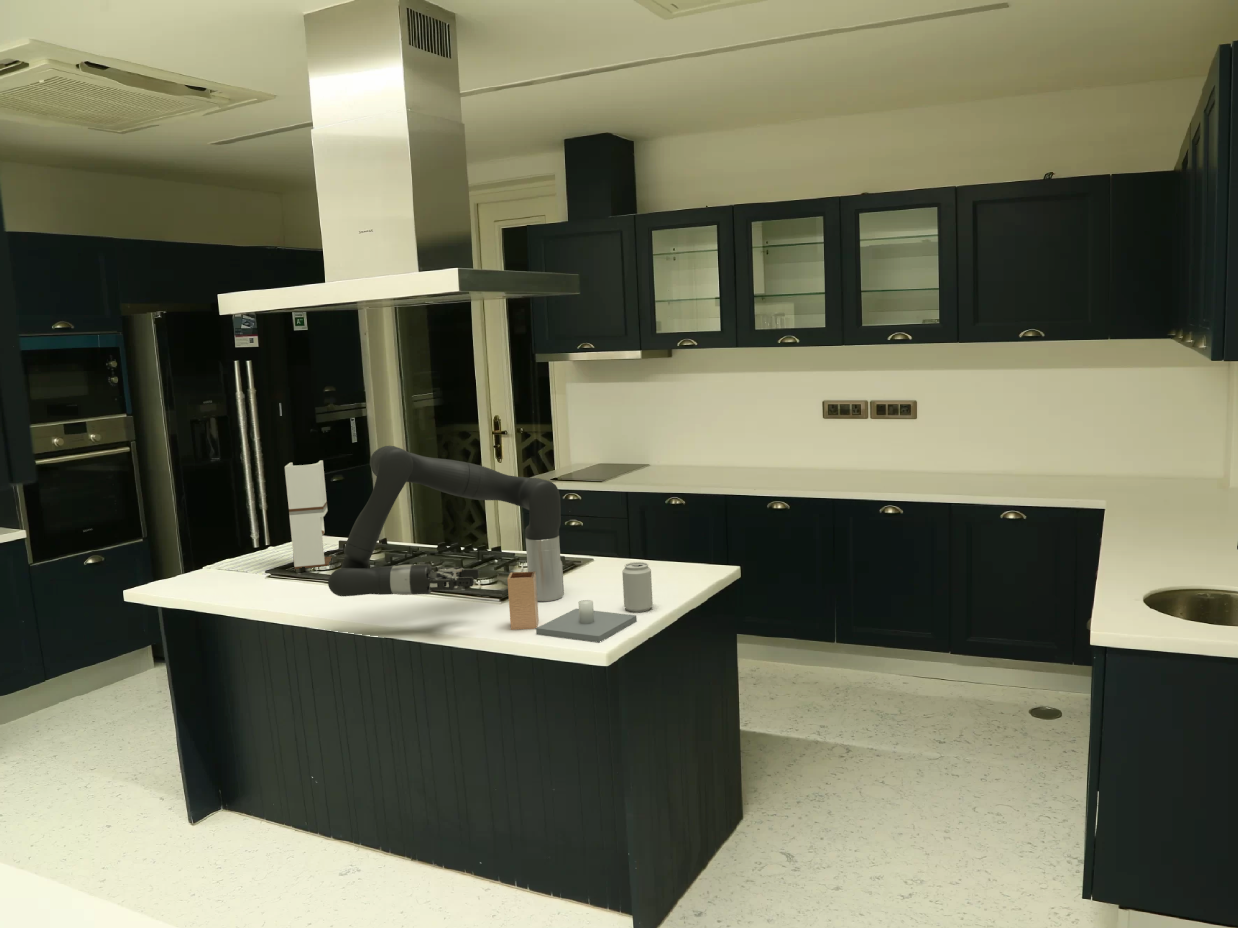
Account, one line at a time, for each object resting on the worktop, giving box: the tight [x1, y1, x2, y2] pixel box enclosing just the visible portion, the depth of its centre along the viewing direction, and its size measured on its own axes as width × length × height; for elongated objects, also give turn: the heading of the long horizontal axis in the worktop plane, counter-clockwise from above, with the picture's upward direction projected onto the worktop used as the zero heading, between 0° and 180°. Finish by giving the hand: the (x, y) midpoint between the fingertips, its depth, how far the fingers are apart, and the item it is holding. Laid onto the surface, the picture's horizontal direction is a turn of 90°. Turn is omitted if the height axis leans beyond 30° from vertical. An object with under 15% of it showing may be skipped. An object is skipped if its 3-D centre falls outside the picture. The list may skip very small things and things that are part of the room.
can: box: [622, 561, 654, 613], centre depth 254 cm, size 8×8×12 cm
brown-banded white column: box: [284, 460, 333, 570], centre depth 322 cm, size 11×11×35 cm
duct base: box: [535, 599, 637, 643], centre depth 240 cm, size 18×18×6 cm
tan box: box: [507, 571, 540, 631], centre depth 244 cm, size 6×6×13 cm
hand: (476, 577), depth 243 cm, fingers open, 8 cm apart
